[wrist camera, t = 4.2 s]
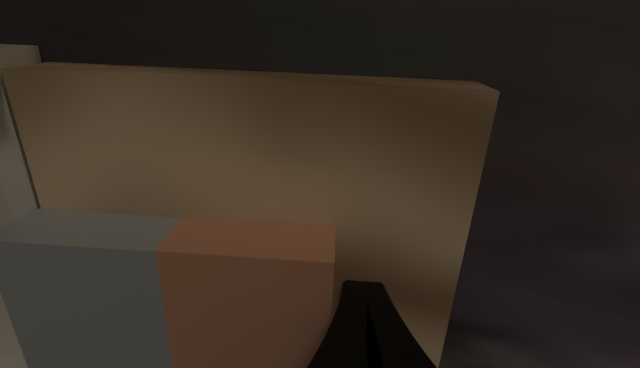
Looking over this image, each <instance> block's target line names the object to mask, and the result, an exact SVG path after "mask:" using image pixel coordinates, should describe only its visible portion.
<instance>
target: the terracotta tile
mask: <svg viewBox="0 0 640 368" xmlns="http://www.w3.org/2000/svg"><path fill="white" fill-rule="evenodd" d="M335 233H336V227H333V226H318V225H302V224H287V223H271V222H256V221H240V220H224V219H209V218H193V217H182V219H181V220H180V221H179V222H178V223H177V225H176V226H175V227H174V228H173V230H172V231H171V232H170V233H169V234H168V236H167V237H166V238H165V239H164V241H163V242H162V243H161V244H160V245H159V247H158V248H157V249H156V250H155V254H156V261H157V267H158V273H159V280H160V286H161V293H162V299H163V305H164V312H165V318H166V324H167V331H168V337H169V344H170V350H171V356H172V363H173V368H307V366H308V365H309V363H310V362H311V360H312V358H313V357H314V355H315V353H316V352H317V350H318V348H319V346H320V345H321V343H322V341H323V339H324V337H325V335H326V333H327V331H328V329H329V327H330V321H331V306H332V292H333V278H334V263H335Z"/></svg>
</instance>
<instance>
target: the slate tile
mask: <svg viewBox="0 0 640 368" xmlns="http://www.w3.org/2000/svg"><path fill="white" fill-rule="evenodd" d="M181 219H182V218H181V217H165V216H149V215H133V214H117V213H101V212H85V211H69V210H53V209H37V208H34V209H32V210H31V211H29V212H27V213H26V214H24V215H22V216H21V217H19V218H17V219H16V220H14V221H12V222H11V223H9V224H7V225H6V226H4V227H2V228H1V229H0V293H1V296H2V298H3V301H4V304H5V307H6V309H7V312H8V315H9V318H10V320H11V323H12V326H13V328H14V331H15V334H16V337H17V339H18V342H19V345H20V348H21V350H22V353H23V356H24V359H25V361H26V364H27V367H28V368H173V363H172V356H171V350H170V344H169V337H168V331H167V324H166V318H165V312H164V305H163V299H162V293H161V286H160V280H159V273H158V267H157V261H156V254H155V250H156V249H157V248H158V247H159V245H160V244H161V243H162V242H163V241H164V239H165V238H166V237H167V236H168V234H169V233H170V232H171V231H172V230H173V228H174V227H175V226H176V225H177V223H178V222H179V221H180V220H181Z"/></svg>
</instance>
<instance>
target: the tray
mask: <svg viewBox="0 0 640 368" xmlns="http://www.w3.org/2000/svg"><path fill="white" fill-rule="evenodd" d="M40 63H42V60H41V56H40V52H39V48H38V46H34V45H11V44H0V229H1V228H2V227H4V226H6V225H7V224H9V223H11V222H12V221H14V220H16V219H17V218H19V217H21V216H22V215H24V214H26V213H27V212H29V211H31V210H32V209H34V208H37V209H41V207H40V204H39V200H38V197H37V193H36V190H35V186H34V183H33V179H32V176H31V172H30V169H29V165H28V162H27V158H26V155H25V152H24V148H23V145H22V141H21V138H20V134H19V131H18V127H17V124H16V120H15V117H14V113H13V110H12V106H11V103H10V99H9V96H8V93H7V89H6V86H5V82H4V79H3V75H2V72H1V69H3V68H10V67H18V66H25V65H32V64H40ZM0 368H28V367H27V364H26V361H25V359H24V356H23V353H22V350H21V348H20V345H19V342H18V339H17V337H16V334H15V331H14V328H13V326H12V323H11V320H10V318H9V315H8V312H7V309H6V307H5V304H4V301H3V298H2V296H1V293H0Z"/></svg>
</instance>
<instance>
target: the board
mask: <svg viewBox="0 0 640 368" xmlns="http://www.w3.org/2000/svg"><path fill="white" fill-rule="evenodd" d="M1 72H2V75H3V79H4V82H5V86H6V89H7V93H8V96H9V99H10V103H11V106H12V110H13V113H14V117H15V120H16V124H17V127H18V131H19V134H20V138H21V141H22V145H23V148H24V152H25V155H26V158H27V162H28V165H29V169H30V172H31V176H32V179H33V183H34V186H35V190H36V193H37V197H38V200H39V204H40V207H41V209H53V210H69V211H85V212H101V213H117V214H133V215H149V216H165V217H181V218H182V217H193V218H209V219H224V220H240V221H256V222H271V223H287V224H302V225H318V226H333V227H336V233H335V263H334V278H333V292H332V306H331V321H330V324H331V322H332V320H333V317H334V315H335V312H336V310H337V307H338V304H339V301H340V297H341V293H342V284H343V282H344V281H346V280H354V281H369V282H381V283H382V284H383V285H384V286H385V288H386V291H387V293H388V295H389V297H390V299H391V300H392V302H393V304H394V306H395V308H396V309H397V311H398V313H399V315H400V316H401V318H402V319H403V321H404V323H405V324H406V326H407V327H408V329H409V330H410V332H411V333H412V335H413V336H414V338H415V339H416V341H417V342H418V344H419V345H420V346H421V348H422V349H423V350H424V352H425V353H426V354H427V356H428V357H429V358H430V360H431V361H432V362H433V363H434V365H435V366H436V367H437V368H438V366H439V362H440V357H441V353H442V348H443V344H444V339H445V335H446V331H447V326H448V322H449V317H450V313H451V308H452V304H453V299H454V295H455V290H456V286H457V281H458V277H459V272H460V268H461V263H462V259H463V254H464V250H465V245H466V241H467V236H468V232H469V227H470V223H471V218H472V214H473V209H474V205H475V200H476V196H477V191H478V187H479V183H480V178H481V174H482V169H483V165H484V160H485V156H486V151H487V147H488V142H489V138H490V133H491V129H492V124H493V120H494V115H495V111H496V106H497V102H498V97H499V93H500V92H499V91H497V90H494V89H492V88H490V87H488V86H485V85H483V84H481V83H479V82H476V81H459V80H437V79H415V78H393V77H371V76H349V75H326V74H304V73H282V72H260V71H238V70H216V69H194V68H172V67H150V66H128V65H106V64H84V63H62V62H47V63H40V64H32V65H25V66H18V67H10V68H3V69H1Z"/></svg>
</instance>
